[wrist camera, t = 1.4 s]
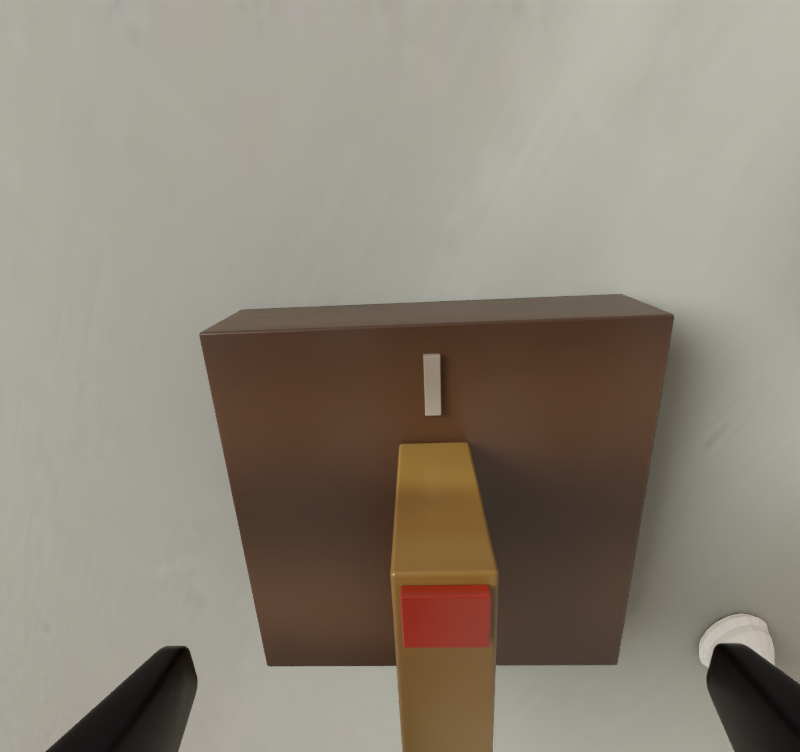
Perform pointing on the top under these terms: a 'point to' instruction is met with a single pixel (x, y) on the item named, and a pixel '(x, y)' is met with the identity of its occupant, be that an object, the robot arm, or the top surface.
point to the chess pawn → (737, 636)
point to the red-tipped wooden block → (443, 601)
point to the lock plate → (440, 423)
